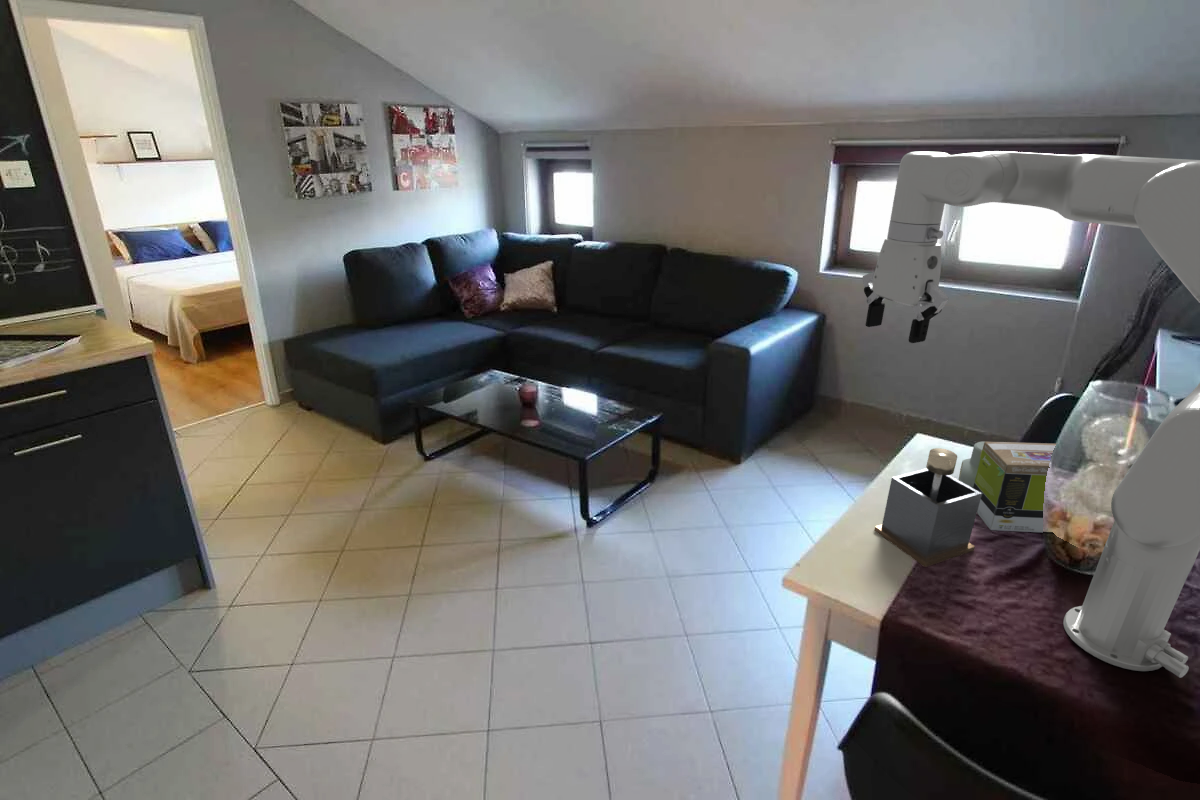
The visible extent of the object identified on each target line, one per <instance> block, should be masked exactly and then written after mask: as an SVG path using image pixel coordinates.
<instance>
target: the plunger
mask: <svg viewBox="0 0 1200 800" xmlns="http://www.w3.org/2000/svg"><path fill="white" fill-rule="evenodd" d="M957 459H958V455H957V454H956V453H955V452H953V451H951V450H949V449H945V448H939V447H936V448H931V449H930V450H929V452H928V458H927V461H926V465H925V466H926V468H927V469H928V470H929V471H931V472H933V473H935V475H934V480H933V484H932V488H931V492H930V497H929V498H931V499H933V500H934V501H936V499H937V495H938V491H939V487H940V483H941V479H942V475H950V476H952V475H953V474H954V473H955V469H956V464H957ZM926 468H925V469H926Z"/></svg>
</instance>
